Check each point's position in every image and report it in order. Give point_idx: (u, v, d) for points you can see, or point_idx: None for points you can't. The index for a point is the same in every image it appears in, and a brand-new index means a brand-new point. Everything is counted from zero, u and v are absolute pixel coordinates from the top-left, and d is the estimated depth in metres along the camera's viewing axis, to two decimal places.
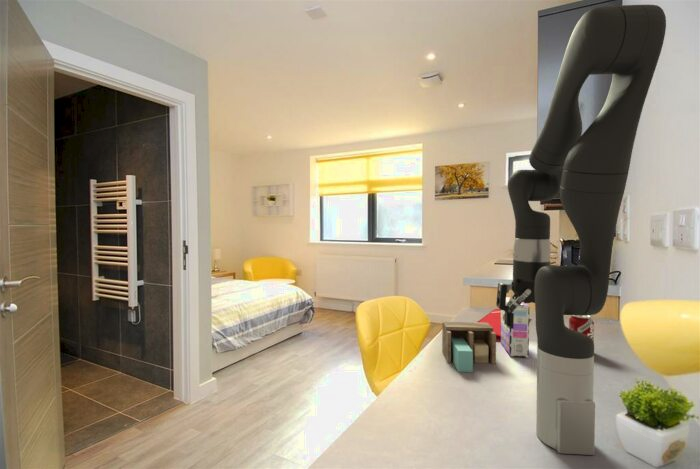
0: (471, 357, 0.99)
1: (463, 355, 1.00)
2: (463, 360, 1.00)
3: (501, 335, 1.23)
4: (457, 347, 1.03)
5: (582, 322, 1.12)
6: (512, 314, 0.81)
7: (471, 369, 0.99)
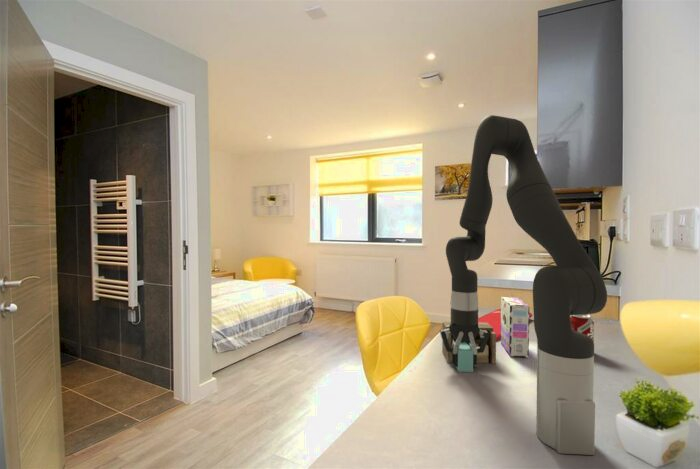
0: (472, 356, 1.00)
1: (464, 354, 1.00)
2: (464, 359, 1.00)
3: (501, 335, 1.23)
4: None
5: (582, 322, 1.12)
6: (456, 355, 1.01)
7: (471, 368, 1.00)
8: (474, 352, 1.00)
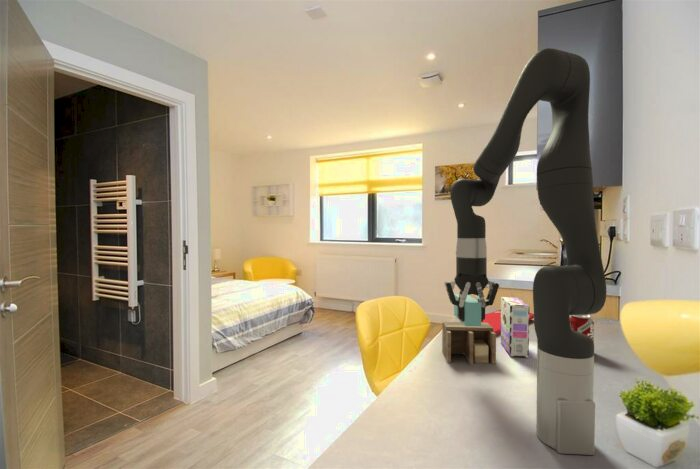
0: (480, 309, 0.91)
1: (471, 307, 0.91)
2: (471, 313, 0.91)
3: (501, 335, 1.23)
4: None
5: (582, 322, 1.12)
6: (463, 308, 0.92)
7: (480, 323, 0.91)
8: (482, 305, 0.92)
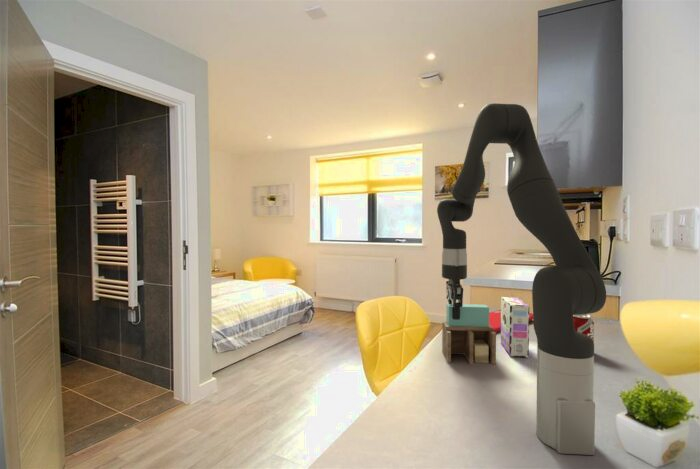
0: (448, 311, 1.10)
1: (447, 308, 1.12)
2: (447, 313, 1.12)
3: (501, 335, 1.23)
4: None
5: (582, 322, 1.12)
6: (448, 303, 1.14)
7: (448, 322, 1.10)
8: (452, 304, 1.08)
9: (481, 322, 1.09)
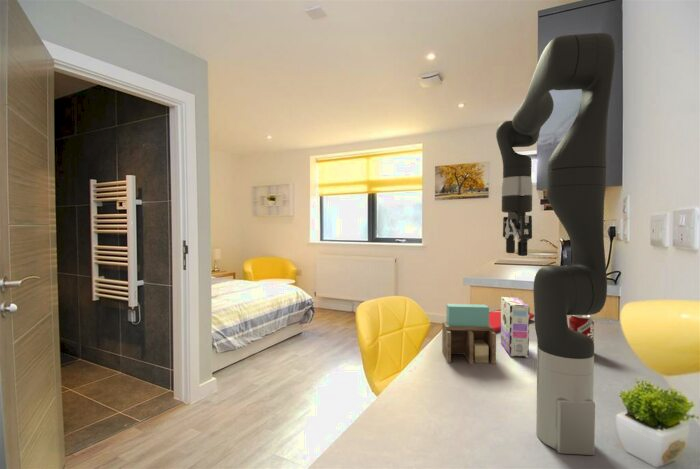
0: (448, 311, 1.10)
1: (447, 308, 1.12)
2: (447, 313, 1.12)
3: (501, 335, 1.23)
4: (456, 304, 1.13)
5: (582, 322, 1.12)
6: (506, 240, 1.01)
7: (448, 322, 1.10)
8: (518, 238, 0.92)
9: (481, 322, 1.09)
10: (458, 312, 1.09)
